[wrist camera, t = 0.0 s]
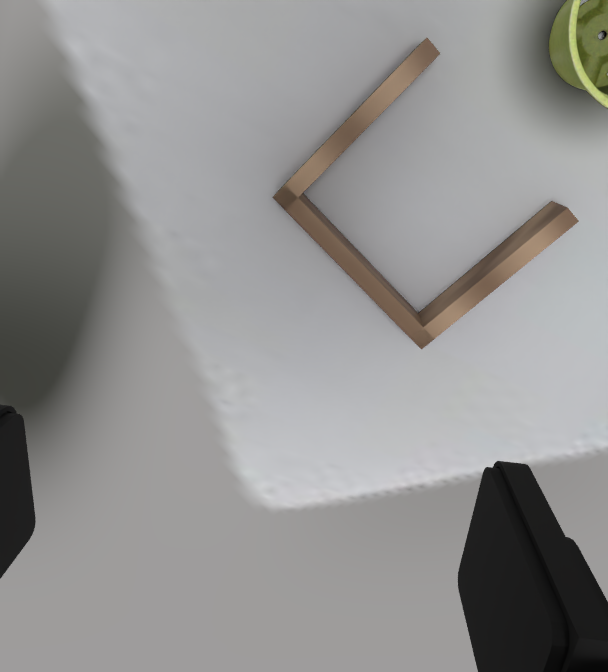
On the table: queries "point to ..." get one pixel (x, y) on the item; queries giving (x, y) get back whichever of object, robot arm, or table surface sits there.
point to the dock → (307, 215)
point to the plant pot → (582, 46)
